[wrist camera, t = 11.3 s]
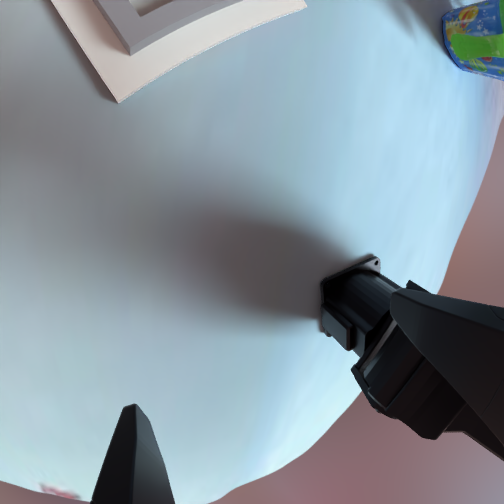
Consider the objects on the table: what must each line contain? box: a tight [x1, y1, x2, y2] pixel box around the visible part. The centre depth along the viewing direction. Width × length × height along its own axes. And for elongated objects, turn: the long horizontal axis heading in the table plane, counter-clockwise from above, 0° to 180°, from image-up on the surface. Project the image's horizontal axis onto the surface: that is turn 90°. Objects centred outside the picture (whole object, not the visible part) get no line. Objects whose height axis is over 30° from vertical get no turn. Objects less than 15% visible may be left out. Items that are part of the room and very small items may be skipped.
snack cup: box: [442, 0, 504, 81], centre depth 18 cm, size 16×10×10 cm
